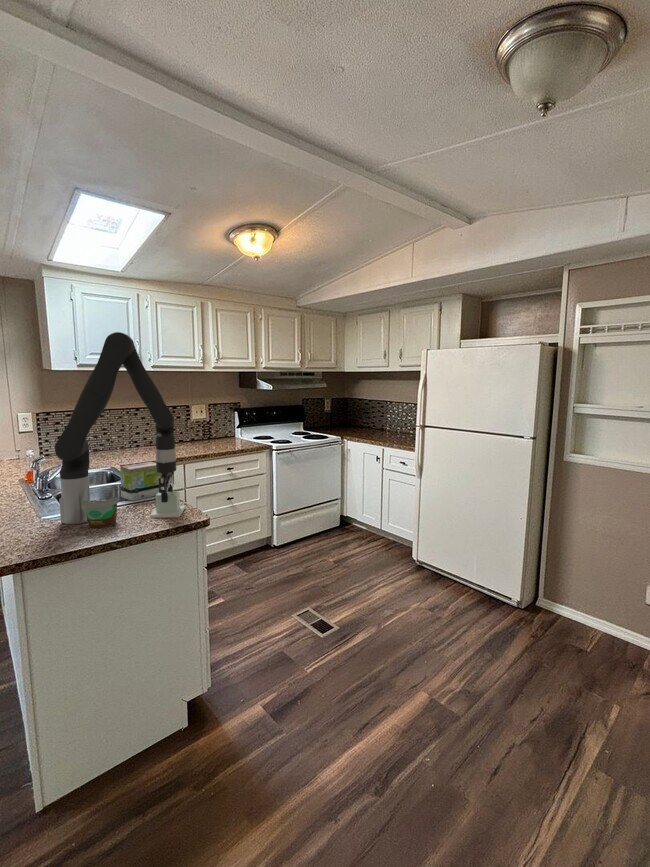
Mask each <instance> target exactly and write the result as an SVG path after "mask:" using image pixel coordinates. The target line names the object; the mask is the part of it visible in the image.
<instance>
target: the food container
mask: <svg viewBox="0 0 650 867" xmlns="http://www.w3.org/2000/svg"><path fill="white" fill-rule="evenodd" d="M119 502H120V500H119V497H118V496H116V497H114V498H111V499H107V498H105V499H104V498H98V499H95V500H90V501H85V500H83V504H82V506H83V507H85V512H86V517H87V526H88V527H89V528H92V529H101V528H102V529H103V528H108V527H111V526H113V525H115V524H116V523H117V513H118V503H119Z"/></svg>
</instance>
